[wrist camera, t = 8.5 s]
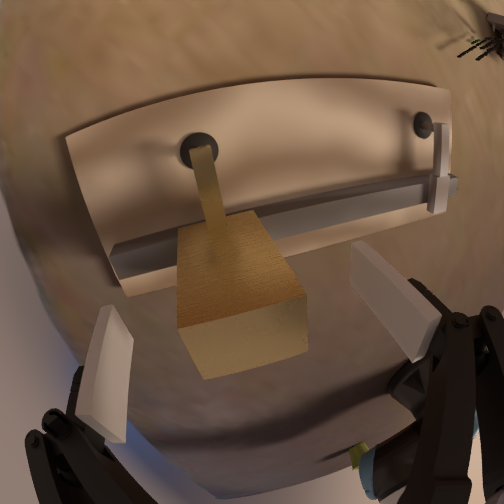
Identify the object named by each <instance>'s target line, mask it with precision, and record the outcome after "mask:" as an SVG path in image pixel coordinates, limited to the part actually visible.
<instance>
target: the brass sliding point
mask: <svg viewBox="0 0 504 504" xmlns="http://www.w3.org/2000/svg"><path fill="white" fill-rule="evenodd" d="M189 153H190V158H191V162H192V166H193V171H194V175H195V179H196V183H197V187H198V192H199V196H200V200H201V204H202V208H203V212H204V216H205V220H206V221H205V222H201V223H197V224H194V225H190V226H186V227H182V228H178V245H177V329H178V332H179V334H180V336H181V338H182V340H183V342H184V343H185V345H186V347H187V349H188V351H189V353H190V355H191V357H192V359H193V361H194V363H195V364H196V366H197V368H198V370H199V372H200V374H201V375H202V377H203V379H204V380H206V379H211V378H215V377H220V376H224V375H228V374H232V373H237V372H240V371H244V370H248V369H252V368H256V367H259V366H263V365H266V364H270V363H273V362H277V361H280V360H283V359H287V358H290V357H293V356H296V355H299V354H302V353H305V352H308V321H307V295H306V293H305V291H304V290H303V288H302V287H301V285H300V283H299V282H298V280H297V278H296V277H295V275H294V274H293V272H292V270H291V269H290V267H289V266H288V264H287V262H286V261H285V259H284V258H283V256H282V254H281V253H280V251H279V250H278V248H277V247H276V245H275V243H274V242H273V240H272V239H271V237H270V235H269V234H268V232H267V231H266V229H265V228H264V226H263V224H262V223H261V221H260V220H259V218H258V217H257V215H256V214H255V212H254V210H250V211H246V212H242V213H238V214H233V215H229V216H226V215H225V211H224V206H223V202H222V197H221V192H220V188H219V183H218V178H217V173H216V169H215V164H214V159H213V154H212V149H211V146H210V145H206V146H198V147H196V148H193V149H189Z"/></svg>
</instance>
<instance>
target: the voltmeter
mask: <svg viewBox="0 0 504 504" xmlns="http://www.w3.org/2000/svg"><path fill="white" fill-rule="evenodd" d="M487 21H488V22H489V23H490V24H491V25H492V26H493V31H494V32H495V28H496V29H497V30H498V31H499V32H500V33H501V34H502V35H503V40H502V41H500V42H499V43H498V44H496V45H495V46H494V47H492V48H489V50H488V49H487V51H486V52H484V53H483V54H482V55H480V56H478V57H477V58H476V60H478V61H479V60H480V59H481V58H483V57H484V56H487V55H488V53H490V52H491V51H493V50H495V48H497V47H499V46H500V45H502V44H503V47H502V48H501V49H500V50H499V51H498V52H497V54H502V59H503V60H504V16H502V15H498V14H494V13H490V12H489V13H488V17H487ZM488 38H489V37H488ZM488 38H487V39H488ZM485 39H486V38H485ZM490 39H492V37H491V38H489V39H488V40H490ZM499 40H501V38H494V40H491V41H490V42H489V43H488V44H486V45H485V46H482V47H480V49H485V48H487V47H488V46H491V44H493V43H494V42H496V41H499ZM478 41H481V40H480V39H479V40H475V41H473V42H471V44H474V43H476V42H478ZM485 41H486V40H483V41H481V42H480V43H477V44H476V46H473V47H471V48H469V49H468V50H466V51H464V52H463V53H461V54H460V55H458V56H457V57H459V58H460V57H462V56H463V55H464V54H466V53H468V52H469V51H472V50H473V49H474V48H476V47H477V46H479V45H481V43H483V42H485Z"/></svg>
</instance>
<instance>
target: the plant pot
mask: <svg viewBox="0 0 504 504" xmlns="http://www.w3.org/2000/svg"><path fill="white" fill-rule="evenodd" d="M367 451H369V448H368V447H367V446H366V444H365V443H364V442H362V443H359V444H357V445H355V446H354V447H351V448H350V449H349V454H350V457H351V461H352V467H353V469H352V470H356V469H359V459H360V457H361V456H362V455H363V454H364V453H365V452H367Z"/></svg>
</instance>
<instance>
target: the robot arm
mask: <svg viewBox="0 0 504 504" xmlns="http://www.w3.org/2000/svg"><path fill="white" fill-rule="evenodd" d="M349 284H350V285H351V286H352V287H353V288H354V290H355V291H356V292H357V293H358V294H359V296H360V297H361V298H362V299H363V300H364V302H365V303H366V304H367V305H368V307H369V308H370V309H371V310H372V312H373V313H374V314H375V315H376V317H377V318H378V319H379V320H380V322H381V323H382V324H383V325H384V327H385V328H386V329H387V330H388V332H389V333H390V334H391V336H392V337H393V338H394V339H395V341H396V342H397V343H398V345H399V346H400V347H401V349H402V350H403V351H404V353H405V354H406V355H407V357H408V358H409V359H410V361H409V362H408V363H407V364H406V365H405V366H404V367H402V368H401V369H400V370H399V371H398V373H397V374H396V375H395V376H394V377H393V378H392V380H391V381H390V383H389V385H388V391H389V393H390V394H391V396H392V397H393V398H394V399H395V400H397V401H398V402H399V403H400V404H402V405H403V406H404V407H406V408H407V409H408V410H410V411H411V413H412V414H413V416H414V417H415V419H416V421H415V422H413V423H412V424H410V425H409V426H407V427H406V428H404V429H403V430H401V431H400V432H398V433H397V434H395V435H393V436H392V437H390V438H389V439H387V440H385V441H383V442H382V443H380V444H377V445H376V446H375V447H373V448H372V449H370V450H369V451H367V452H365V453H364V454H363V455H362V456H361V457H360V459H359V475H360V479H361V483H362V486H363V489H364V490H365V493H366V495H367V497H368V498H369V499H371V500H374V499H375V500H376V499H378V501H379V503H380V504H468V501H469V496H470V493H471V488H472V482H471V480H470V479H469V477H468V475H467V473H468V467H469V461H470V455H471V447H472V440H473V439H474V437H475V436H476V435H477V434H478V433H480V441H481V453H482V475H483V490H484V496H485V501H486V503H485V504H504V318H503V316H502V314H501V313H500V311H499V310H498V309H497V308H495V307H493V306H489V305H487V306H484V307H483V308H482V309H481V312H480V314H479V315H476V316H471V317H467V316H466V315H465V314H463V313H459V312H454V313H452V312H451V311H450V310H449V309H448V308H447V307H446V306H445V305H444V304H443V303H442V302H441V301H440V300H439V299H438V298H437V297H436V296H435V295H433V293H432V292H430V291H429V290H427V288H426V287H425V286H424V285H423V284H422V283H421V282H419V281H417V280H415V279H413V278H411V279H408V280H406V279H405V278H404V277H403V276H402V275H401V274H400V273H399V272H398V271H397V270H396V269H395V268H393V267H392V266H391V265H390V264H389V263H388V262H387V261H386V260H385V259H384V258H382V257H381V256H380V255H379V254H378V253H377V252H376V251H375V250H373V249H372V248H371V247H370V246H369V245H368V244H366V243H365V242H364V241H363V240H361V241H358V242H354V243H351V259H350V279H349ZM133 341H134V339H133V338H132V336H131V334H130V333H129V331H128V329H127V328H126V326H125V324H124V323H123V321H122V319H121V318H120V316H119V314H118V312H117V311H116V309H115V307H114V305H113V304H112V305H107V306H103V307H101V309H100V312H99V315H98V318H97V322H96V325H95V328H94V332H93V335H92V339H91V343H90V346H89V350H88V354H87V358H86V362H85V366H79V367H78V369H77V371H76V372H75V374H74V377H73V382H72V386H71V390H70V391H71V393H70V395H69V400H68V405H67V410H66V415H65V414H64V413H63V412H62V411H60V410H59V409H56V408H55V409H50V410H49V411H47V412H46V413H45V414H44V417H43V419H42V429H43V430H44V431H45V432H47V433H46V434H42V433H41V432H40V431H38V430H36V429H34V430H31V431H30V432H29V433H28V434H27V435H26V438H25V448H26V454H27V459H28V463H29V468H30V472H31V476H32V480H33V484H34V487H35V491H36V494H37V497H38V501H39V504H158V503H157V502H156V501H155V500H154V499H153V498H152V497H151V496H150V495H149V494H148V493H147V492H146V491H145V490H144V489H143V488H142V487H141V486H140V485H139V484H138V483H137V481H135V479H134V478H133V477H132V476H131V475H130V474H129V473H128V471H126V469H125V468H124V467H123V466H122V464H121V463H120V462H119V461H118V459H117V458H116V457H115V456H114V455H113V453H112V452H111V451H110V449H109V448H108V447H107V446H106V445H104V441H105V439H107V440H108V441H109V442H111V443H126V419H127V401H128V388H129V376H130V366H131V357H132V349H133ZM487 349H488V350H487ZM488 351H489V352H488Z"/></svg>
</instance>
